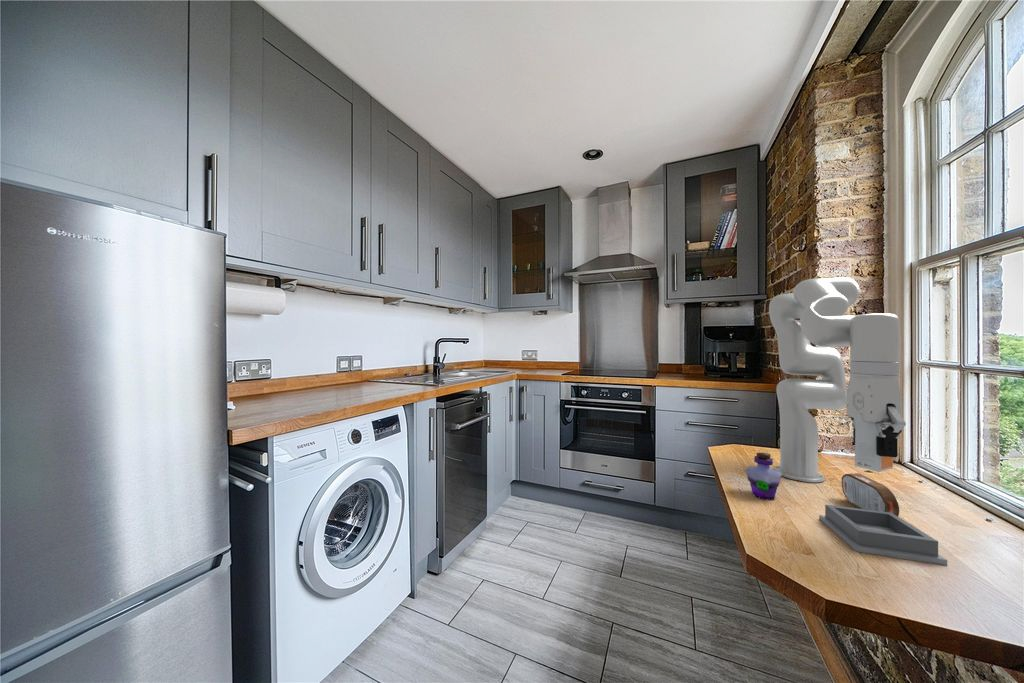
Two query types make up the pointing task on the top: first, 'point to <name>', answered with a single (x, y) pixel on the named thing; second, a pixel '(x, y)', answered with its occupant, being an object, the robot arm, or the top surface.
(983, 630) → the top surface
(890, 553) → the grey square tray
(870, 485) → the tin
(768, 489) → the potion bottle
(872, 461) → the skincare box
